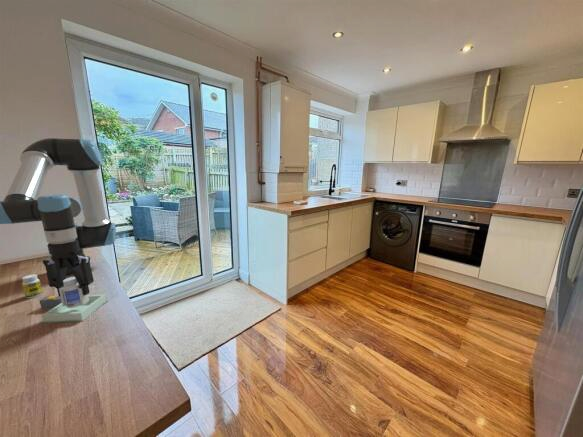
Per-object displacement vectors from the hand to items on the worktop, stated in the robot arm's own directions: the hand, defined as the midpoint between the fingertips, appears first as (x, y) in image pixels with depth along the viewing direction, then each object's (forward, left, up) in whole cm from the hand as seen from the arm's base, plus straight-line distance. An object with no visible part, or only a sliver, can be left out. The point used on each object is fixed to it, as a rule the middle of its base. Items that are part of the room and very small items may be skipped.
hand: (76, 303), depth 84 cm
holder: (-9, -11, -3) cm, 15 cm away
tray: (0, 0, -3) cm, 3 cm away
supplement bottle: (-14, -27, -4) cm, 31 cm away
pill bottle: (0, 0, -1) cm, 1 cm away
